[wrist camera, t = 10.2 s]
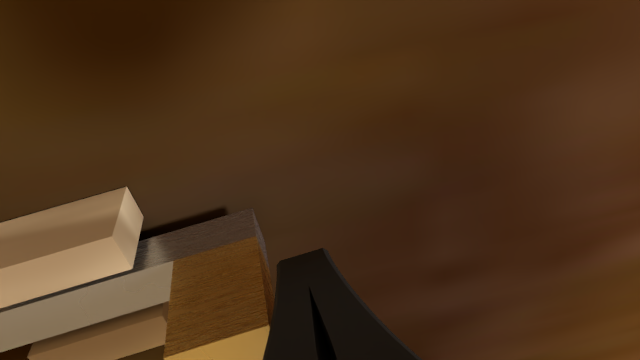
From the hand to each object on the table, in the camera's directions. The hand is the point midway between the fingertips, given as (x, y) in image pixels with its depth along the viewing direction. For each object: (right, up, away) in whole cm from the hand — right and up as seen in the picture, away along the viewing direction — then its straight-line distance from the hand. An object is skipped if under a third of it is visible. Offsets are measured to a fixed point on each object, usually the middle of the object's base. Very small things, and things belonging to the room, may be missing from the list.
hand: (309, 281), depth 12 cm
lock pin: (-7, 0, +2) cm, 7 cm away
